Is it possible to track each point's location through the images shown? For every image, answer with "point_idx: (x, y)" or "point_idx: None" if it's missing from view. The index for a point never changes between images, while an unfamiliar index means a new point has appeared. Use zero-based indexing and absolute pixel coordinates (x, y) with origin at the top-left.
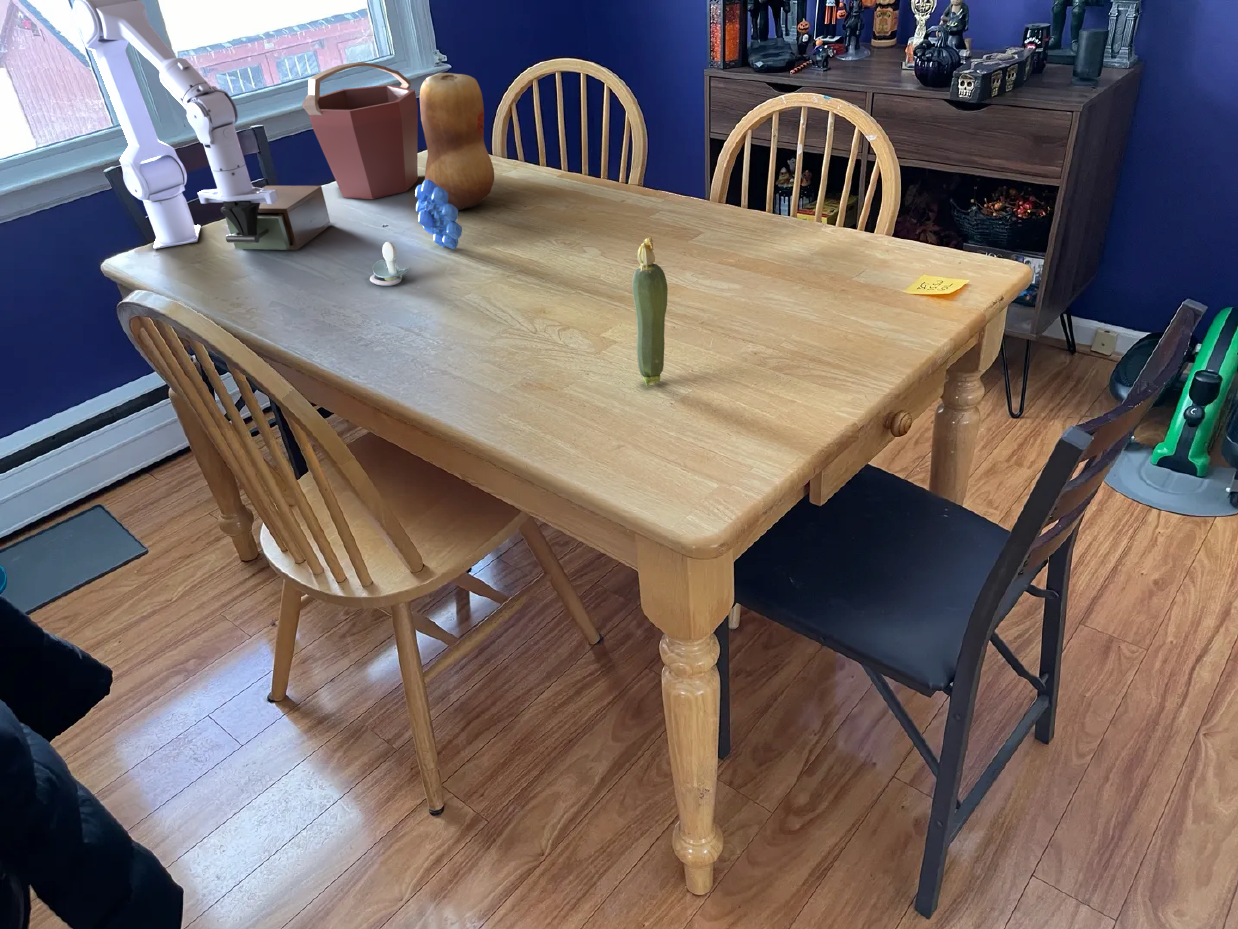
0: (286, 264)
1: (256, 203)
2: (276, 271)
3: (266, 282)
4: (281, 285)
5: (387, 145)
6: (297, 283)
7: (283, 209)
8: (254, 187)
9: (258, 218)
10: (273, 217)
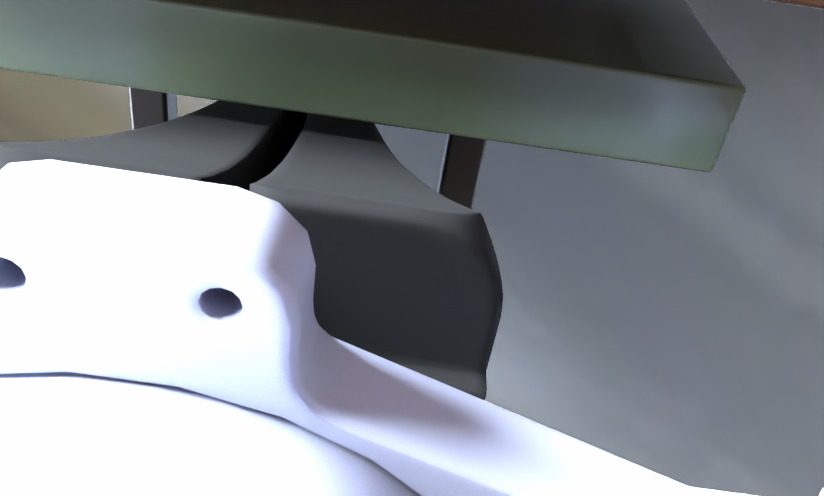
0: (658, 204)
1: (485, 368)
2: (613, 306)
3: (596, 432)
4: (700, 470)
5: None
6: (794, 460)
7: (809, 3)
8: (476, 489)
9: (399, 126)
10: (635, 143)
